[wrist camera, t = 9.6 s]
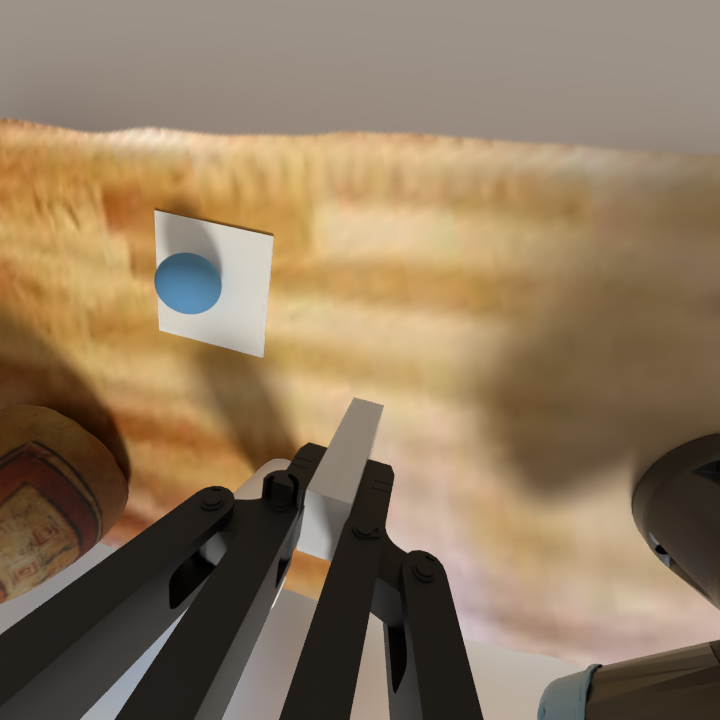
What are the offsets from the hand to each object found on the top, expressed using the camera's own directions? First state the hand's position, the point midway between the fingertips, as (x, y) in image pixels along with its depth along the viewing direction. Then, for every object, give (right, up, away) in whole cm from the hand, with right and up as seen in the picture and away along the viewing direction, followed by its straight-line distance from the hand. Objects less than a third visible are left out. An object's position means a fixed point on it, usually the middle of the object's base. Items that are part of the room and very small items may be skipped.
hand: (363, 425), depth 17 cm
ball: (-16, +10, +15) cm, 24 cm away
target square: (-15, +10, +17) cm, 25 cm away
